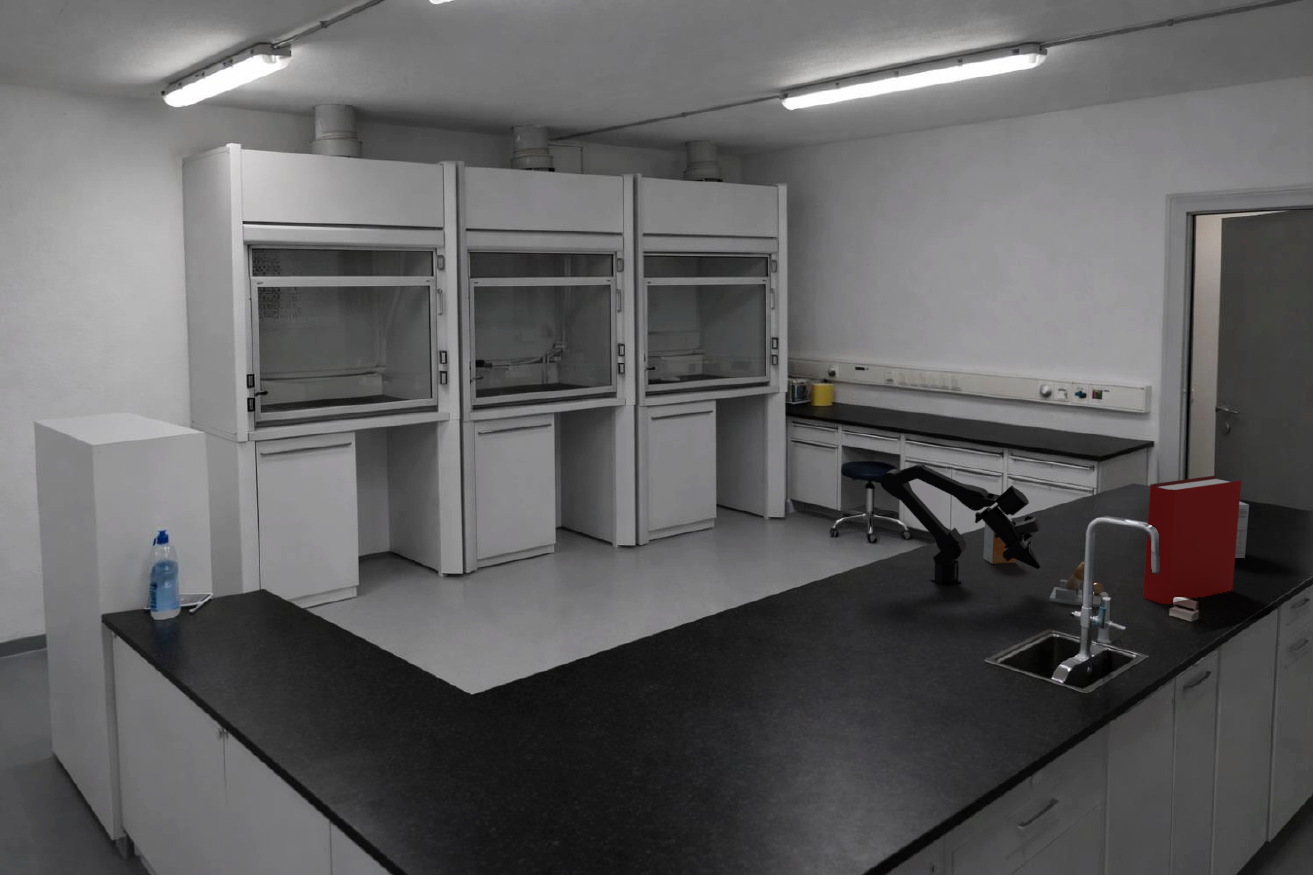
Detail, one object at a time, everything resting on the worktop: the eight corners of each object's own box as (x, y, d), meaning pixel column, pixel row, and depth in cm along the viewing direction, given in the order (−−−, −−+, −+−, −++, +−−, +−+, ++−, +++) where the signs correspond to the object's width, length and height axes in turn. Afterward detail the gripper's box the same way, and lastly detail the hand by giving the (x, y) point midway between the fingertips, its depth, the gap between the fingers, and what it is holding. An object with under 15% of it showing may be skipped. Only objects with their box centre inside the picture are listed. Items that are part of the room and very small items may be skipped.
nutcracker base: (1049, 601, 278) (1050, 582, 278) (1054, 590, 288) (1055, 572, 287) (1104, 608, 272) (1105, 589, 271) (1107, 597, 281) (1109, 578, 280)
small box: (992, 564, 314) (993, 523, 312) (982, 558, 321) (984, 519, 319) (1016, 563, 316) (1018, 522, 313) (1006, 557, 322) (1008, 517, 320)
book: (1206, 583, 292) (1215, 475, 287) (1232, 590, 285) (1241, 480, 280) (1139, 596, 281) (1146, 484, 276) (1164, 604, 274) (1172, 490, 269)
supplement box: (1246, 559, 316) (1250, 504, 313) (1203, 559, 317) (1207, 505, 314) (1223, 547, 329) (1227, 495, 327) (1182, 548, 330) (1186, 496, 327)
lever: (1059, 591, 279) (1080, 564, 275) (1062, 585, 285) (1083, 558, 281) (1069, 599, 278) (1091, 572, 274) (1072, 592, 283) (1094, 566, 280)
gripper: (1017, 515, 275) (1057, 559, 272) (1028, 501, 292) (1066, 543, 288) (986, 539, 280) (1025, 583, 277) (998, 524, 297) (1035, 565, 293)
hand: (1039, 567), depth 284 cm, fingers closed
